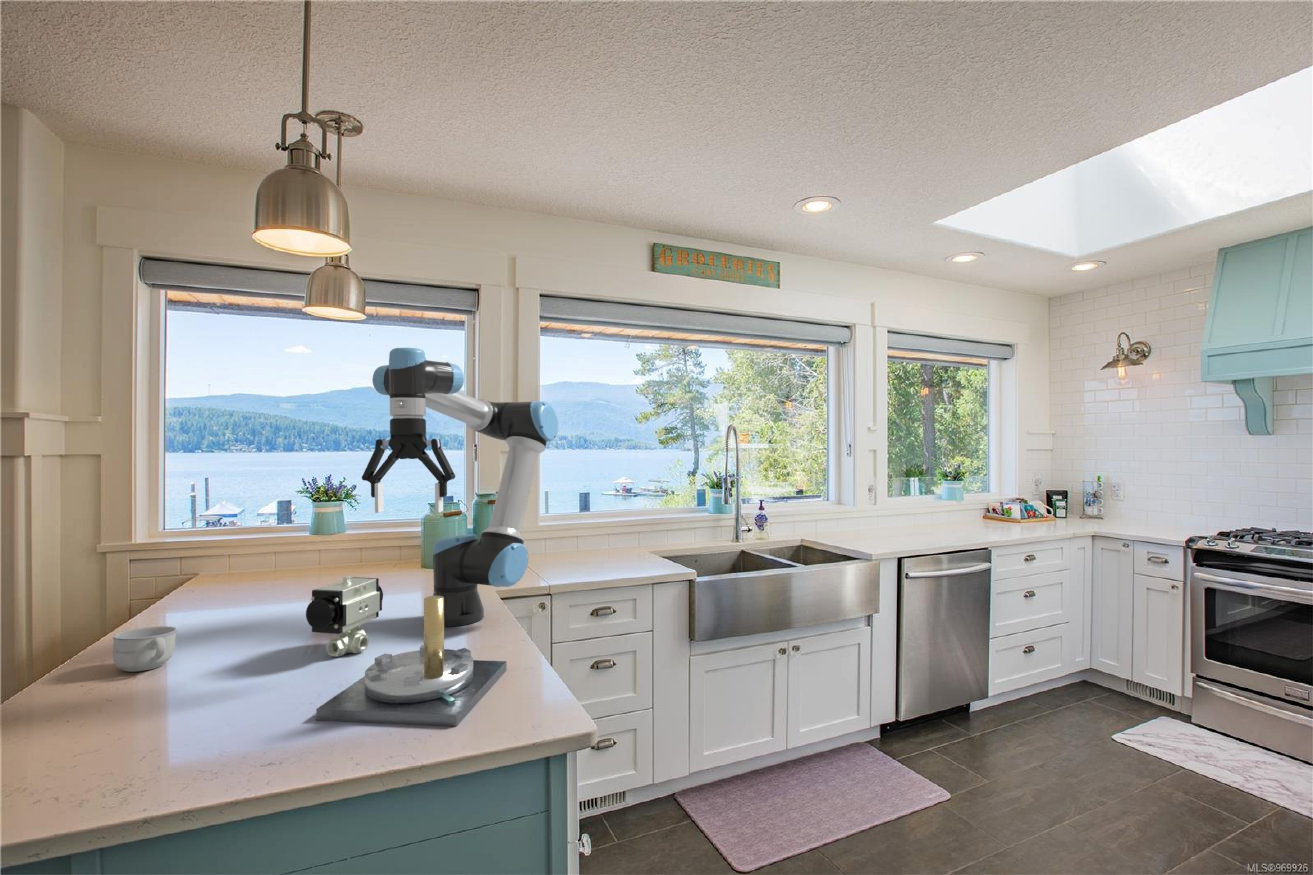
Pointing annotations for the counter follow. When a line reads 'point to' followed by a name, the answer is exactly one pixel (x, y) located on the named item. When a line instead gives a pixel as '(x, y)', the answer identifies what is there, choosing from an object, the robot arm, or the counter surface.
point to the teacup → (143, 648)
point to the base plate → (430, 712)
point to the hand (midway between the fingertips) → (409, 512)
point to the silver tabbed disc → (421, 665)
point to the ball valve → (345, 612)
